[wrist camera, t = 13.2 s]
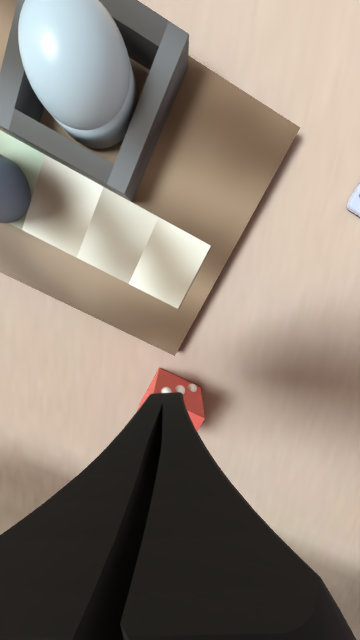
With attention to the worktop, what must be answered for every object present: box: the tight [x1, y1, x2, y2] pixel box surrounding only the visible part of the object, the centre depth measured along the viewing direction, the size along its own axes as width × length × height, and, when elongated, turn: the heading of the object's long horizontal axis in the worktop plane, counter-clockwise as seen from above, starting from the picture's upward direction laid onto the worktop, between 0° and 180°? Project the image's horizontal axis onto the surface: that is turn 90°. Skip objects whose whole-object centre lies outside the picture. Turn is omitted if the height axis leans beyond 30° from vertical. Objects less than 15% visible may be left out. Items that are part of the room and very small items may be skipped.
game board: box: [0, 0, 300, 356], centre depth 14 cm, size 17×23×3 cm
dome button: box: [18, 0, 138, 149], centre depth 11 cm, size 5×5×5 cm
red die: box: [138, 368, 205, 431], centre depth 18 cm, size 4×4×4 cm
